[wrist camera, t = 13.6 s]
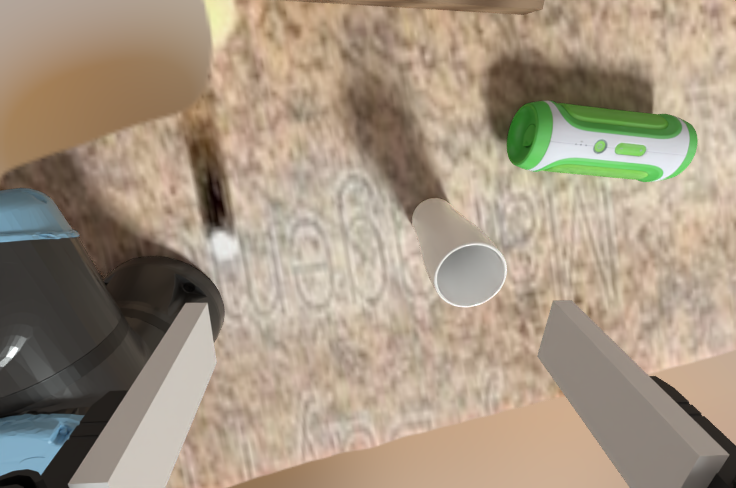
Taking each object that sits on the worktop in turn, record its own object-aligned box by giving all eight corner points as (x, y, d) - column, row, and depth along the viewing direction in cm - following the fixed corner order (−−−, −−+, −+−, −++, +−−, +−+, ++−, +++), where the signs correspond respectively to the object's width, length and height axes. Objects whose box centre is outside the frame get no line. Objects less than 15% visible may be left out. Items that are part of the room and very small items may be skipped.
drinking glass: (408, 189, 45) (439, 239, 32) (463, 192, 46) (516, 243, 33) (402, 240, 48) (427, 307, 35) (454, 243, 49) (499, 309, 35)
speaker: (497, 161, 45) (526, 177, 38) (513, 95, 42) (548, 100, 35) (633, 174, 47) (683, 192, 40) (657, 112, 44) (716, 120, 37)
